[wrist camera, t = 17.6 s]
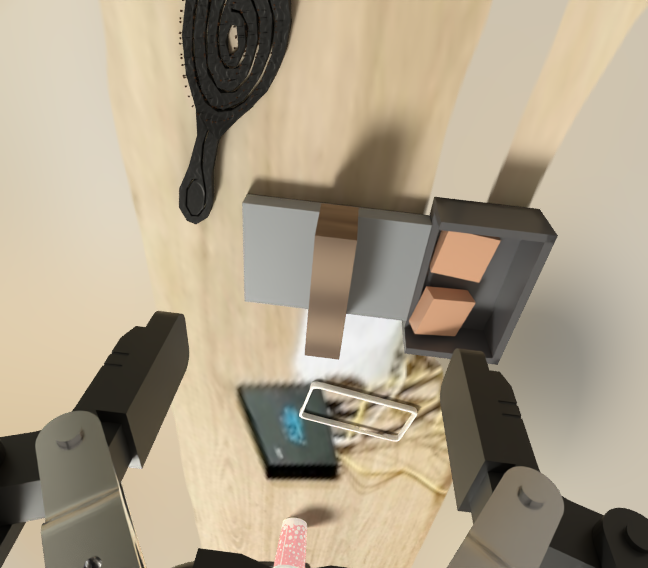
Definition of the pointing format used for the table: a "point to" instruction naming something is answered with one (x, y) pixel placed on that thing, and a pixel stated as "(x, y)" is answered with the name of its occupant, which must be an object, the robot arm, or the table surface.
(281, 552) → the beverage cup
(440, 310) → the tile
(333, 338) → the brown wooden block
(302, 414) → the phone case
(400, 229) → the board
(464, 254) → the tile
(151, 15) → the table surface
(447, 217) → the tray
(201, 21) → the hairbrush
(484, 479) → the robot arm
